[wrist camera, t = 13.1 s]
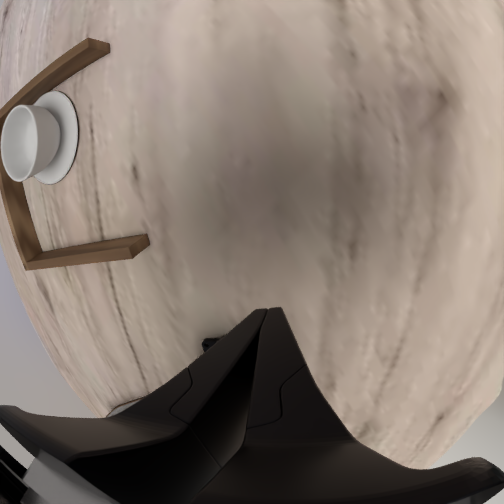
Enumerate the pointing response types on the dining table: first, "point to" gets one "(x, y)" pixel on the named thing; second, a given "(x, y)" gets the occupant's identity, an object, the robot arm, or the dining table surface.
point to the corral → (14, 190)
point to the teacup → (40, 139)
